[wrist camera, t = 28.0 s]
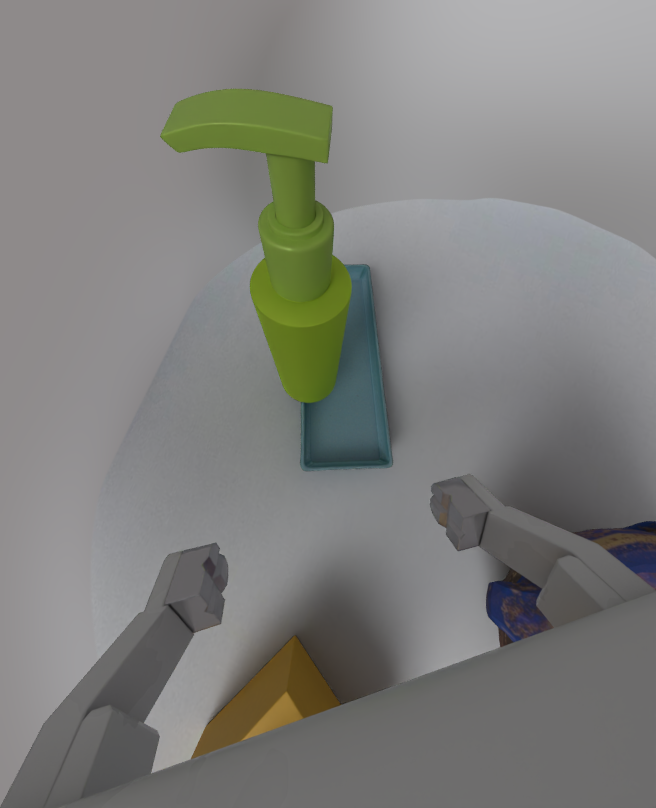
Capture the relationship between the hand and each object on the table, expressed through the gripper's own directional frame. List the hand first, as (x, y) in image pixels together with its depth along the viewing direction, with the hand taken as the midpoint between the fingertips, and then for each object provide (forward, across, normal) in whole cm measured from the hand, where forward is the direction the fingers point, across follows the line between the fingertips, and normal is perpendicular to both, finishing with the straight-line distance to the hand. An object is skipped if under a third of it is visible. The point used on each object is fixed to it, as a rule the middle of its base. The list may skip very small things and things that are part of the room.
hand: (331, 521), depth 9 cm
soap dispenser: (+19, +1, -2) cm, 19 cm away
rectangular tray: (+23, +6, -2) cm, 23 cm away
